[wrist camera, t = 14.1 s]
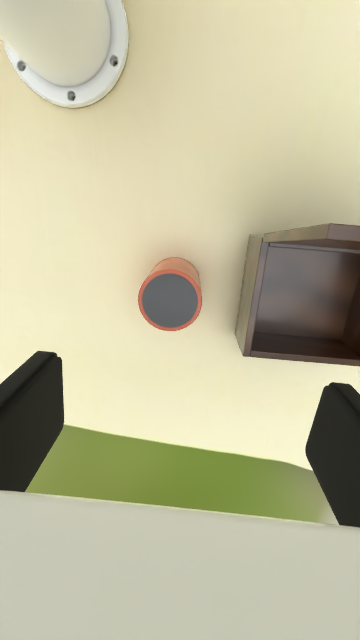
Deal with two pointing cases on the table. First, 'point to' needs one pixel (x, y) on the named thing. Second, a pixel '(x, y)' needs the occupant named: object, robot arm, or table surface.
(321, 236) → the lid
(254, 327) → the box
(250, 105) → the table surface
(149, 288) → the tin
